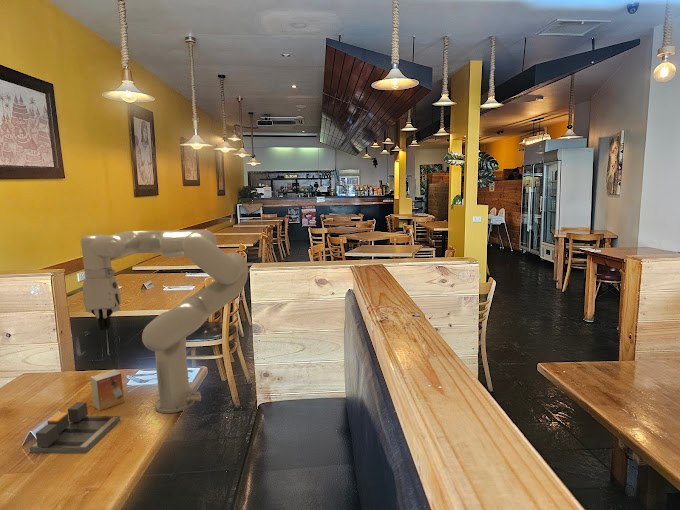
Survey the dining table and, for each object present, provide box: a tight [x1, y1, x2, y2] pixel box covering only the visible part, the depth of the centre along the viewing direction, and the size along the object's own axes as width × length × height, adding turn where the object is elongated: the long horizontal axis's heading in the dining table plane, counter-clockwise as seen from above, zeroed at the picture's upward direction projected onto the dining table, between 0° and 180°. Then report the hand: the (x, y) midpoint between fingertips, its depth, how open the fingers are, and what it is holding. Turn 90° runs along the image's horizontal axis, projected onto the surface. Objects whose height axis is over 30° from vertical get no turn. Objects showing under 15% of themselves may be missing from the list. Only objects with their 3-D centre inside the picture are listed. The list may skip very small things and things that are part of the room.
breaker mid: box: [46, 412, 69, 433], centre depth 128 cm, size 3×4×4 cm
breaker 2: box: [67, 401, 89, 422], centre depth 135 cm, size 3×4×4 cm
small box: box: [90, 369, 125, 412], centre depth 147 cm, size 8×6×10 cm
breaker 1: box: [35, 423, 59, 447], centre depth 122 cm, size 3×4×4 cm
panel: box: [29, 415, 121, 454], centre depth 129 cm, size 16×17×2 cm
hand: (105, 329), depth 141 cm, fingers closed
